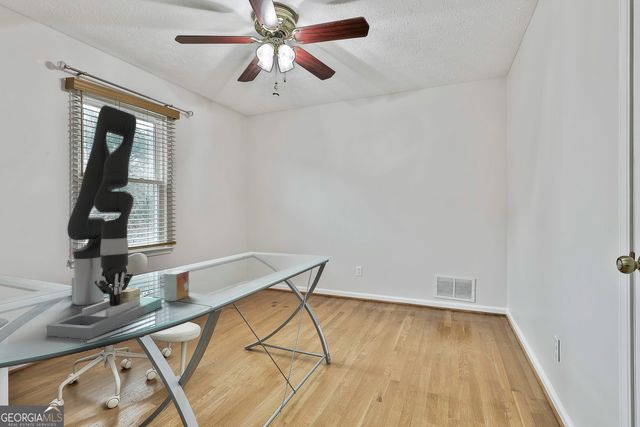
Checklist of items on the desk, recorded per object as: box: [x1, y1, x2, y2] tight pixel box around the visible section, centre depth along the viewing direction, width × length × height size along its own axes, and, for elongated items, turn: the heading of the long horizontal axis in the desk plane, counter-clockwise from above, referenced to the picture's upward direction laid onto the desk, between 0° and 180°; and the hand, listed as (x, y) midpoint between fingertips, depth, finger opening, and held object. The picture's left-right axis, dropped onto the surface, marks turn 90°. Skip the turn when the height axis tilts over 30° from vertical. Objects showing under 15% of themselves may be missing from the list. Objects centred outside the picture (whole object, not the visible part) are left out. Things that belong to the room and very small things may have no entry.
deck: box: [46, 296, 163, 340], centre depth 98 cm, size 14×29×5 cm, turn 171°
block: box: [119, 287, 141, 305], centre depth 104 cm, size 5×5×5 cm
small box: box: [163, 269, 190, 302], centre depth 122 cm, size 8×6×10 cm
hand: (114, 305), depth 99 cm, fingers closed
